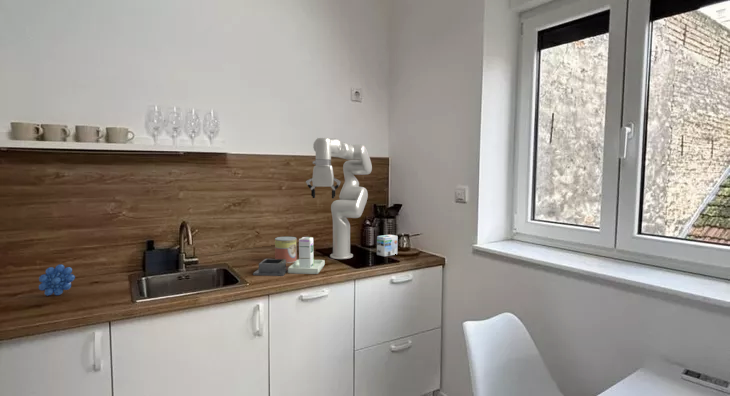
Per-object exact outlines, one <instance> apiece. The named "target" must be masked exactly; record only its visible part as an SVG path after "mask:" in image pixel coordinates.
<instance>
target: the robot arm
mask: <svg viewBox="0 0 730 396" xmlns="http://www.w3.org/2000/svg"><path fill="white" fill-rule="evenodd" d="M313 151H314V152H315V160H312V164H313V165H314V166H313V169H312V170H313V171H312V178H309V179H307V180H306V181H305V184H306V185H307V187H308V188H309V189H310V191H311V192H310V193H311V194H310V195H311V197H312V199H315V198H316V189H315V188H316V187H330V188H331V189H332V190H331V199H335V198H336V190H337V189H338V188H339V187H340V185H341V180H339V179H337V178H336V177H335V176H334V169H333V165H332V158H333V157H334V158H340V159H345V160H346V161H345V162H344V163H343V166H342V168H343V169H342V170H343V176H344V183H343V185H342V188H341V190H340V193H339V199H337V200H334V201H333V202H332V203H331V205H330V211H331V217H332V253H331V254H329V257H330V258H331V259H335V260H347V259H351V258H353V257H354V254H353V253H351V224H350V221H349V218H350V219H351V218H352V219H358V218H361V216H362V214H363V212H364V209H365V207H366V205H367V202H368V201H367V200H368V199H369V198H368V196H369V194H368V193H369V192H368V190H367V188H366V187H363V186H360V182H359V180H358V178H357V177H356V176H355V175H360V176H361V175H369V174H371V172H372V170H373V166H372V165H373V164H372V161H371V157H370V154H369V152H368V149H367V148H366V145H363V144H350V143H347V142H344V141H340V139H338V138H328V137H317V138H316V139H315V140H314V142H313ZM311 182H312V185H311ZM335 183H336V185H334V184H335Z"/></svg>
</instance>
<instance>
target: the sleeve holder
mask: <svg viewBox="0 0 730 396" xmlns="http://www.w3.org/2000/svg"><path fill="white" fill-rule="evenodd" d="M290 266H291V265H289V266H287V263H286V259H275V258H264V259H263V260H262V261H261V262H259V263H258V269H257V270H255V271H254V272H253V273H252V275H253V276H263V277H265V276H268V277H269V276H270V277H271V276H272V277H274V276H275V277H283V276H285V275H286V274H288V268H289V267H290Z"/></svg>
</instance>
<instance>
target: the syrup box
mask: <svg viewBox="0 0 730 396" xmlns="http://www.w3.org/2000/svg"><path fill="white" fill-rule="evenodd" d="M314 245H315V244H314V237H311V236H302V237H301V238H299V239H298V253H299V255H298V256H299V257H298V259H299V266H300V268H312V267H313V266H314V260H315V256H314V253H315V252H314V250H315V249H314V247H315V246H314Z"/></svg>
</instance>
